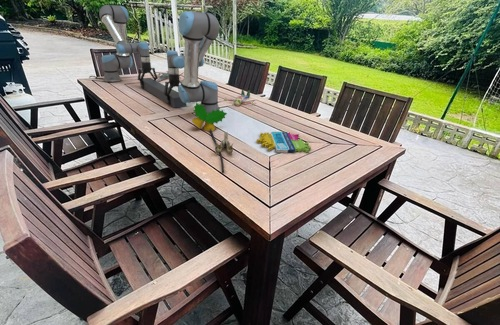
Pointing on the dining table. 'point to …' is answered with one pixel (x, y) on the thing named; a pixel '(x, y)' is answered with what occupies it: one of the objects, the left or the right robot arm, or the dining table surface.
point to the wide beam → (162, 92)
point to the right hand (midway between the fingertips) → (176, 103)
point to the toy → (241, 99)
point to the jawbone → (224, 145)
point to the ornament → (207, 117)
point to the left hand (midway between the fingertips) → (149, 87)
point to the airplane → (163, 76)
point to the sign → (283, 142)
